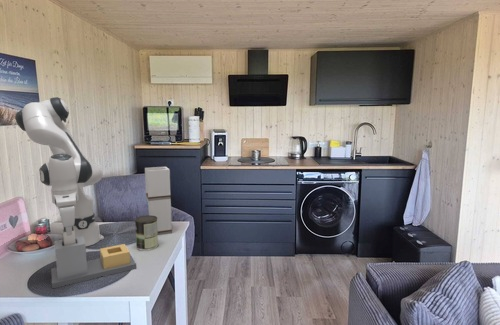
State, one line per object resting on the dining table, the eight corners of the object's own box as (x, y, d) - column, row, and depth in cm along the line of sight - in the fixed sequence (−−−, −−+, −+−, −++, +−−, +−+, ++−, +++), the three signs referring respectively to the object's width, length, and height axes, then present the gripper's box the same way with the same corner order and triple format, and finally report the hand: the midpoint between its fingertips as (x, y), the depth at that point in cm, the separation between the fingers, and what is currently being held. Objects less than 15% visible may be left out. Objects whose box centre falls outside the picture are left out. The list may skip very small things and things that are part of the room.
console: (51, 273, 131) (48, 240, 129) (129, 256, 146) (127, 226, 144) (52, 288, 119) (48, 252, 117) (136, 268, 135) (134, 236, 132)
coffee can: (133, 251, 152) (132, 222, 150) (139, 242, 162) (138, 215, 160) (156, 250, 153) (154, 221, 151) (160, 241, 163) (159, 214, 161)
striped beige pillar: (168, 227, 185) (166, 166, 179) (171, 233, 175) (169, 169, 170) (147, 229, 180) (144, 167, 175) (150, 236, 170) (147, 170, 165)
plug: (64, 251, 127) (62, 226, 126) (75, 249, 129) (73, 224, 128) (65, 254, 124) (63, 229, 123) (76, 252, 126) (74, 227, 125)
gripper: (55, 192, 131) (58, 225, 133) (56, 203, 113) (60, 241, 115) (73, 190, 134) (76, 222, 136) (76, 200, 117) (80, 237, 119)
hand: (68, 231), depth 125 cm, fingers open, 8 cm apart
